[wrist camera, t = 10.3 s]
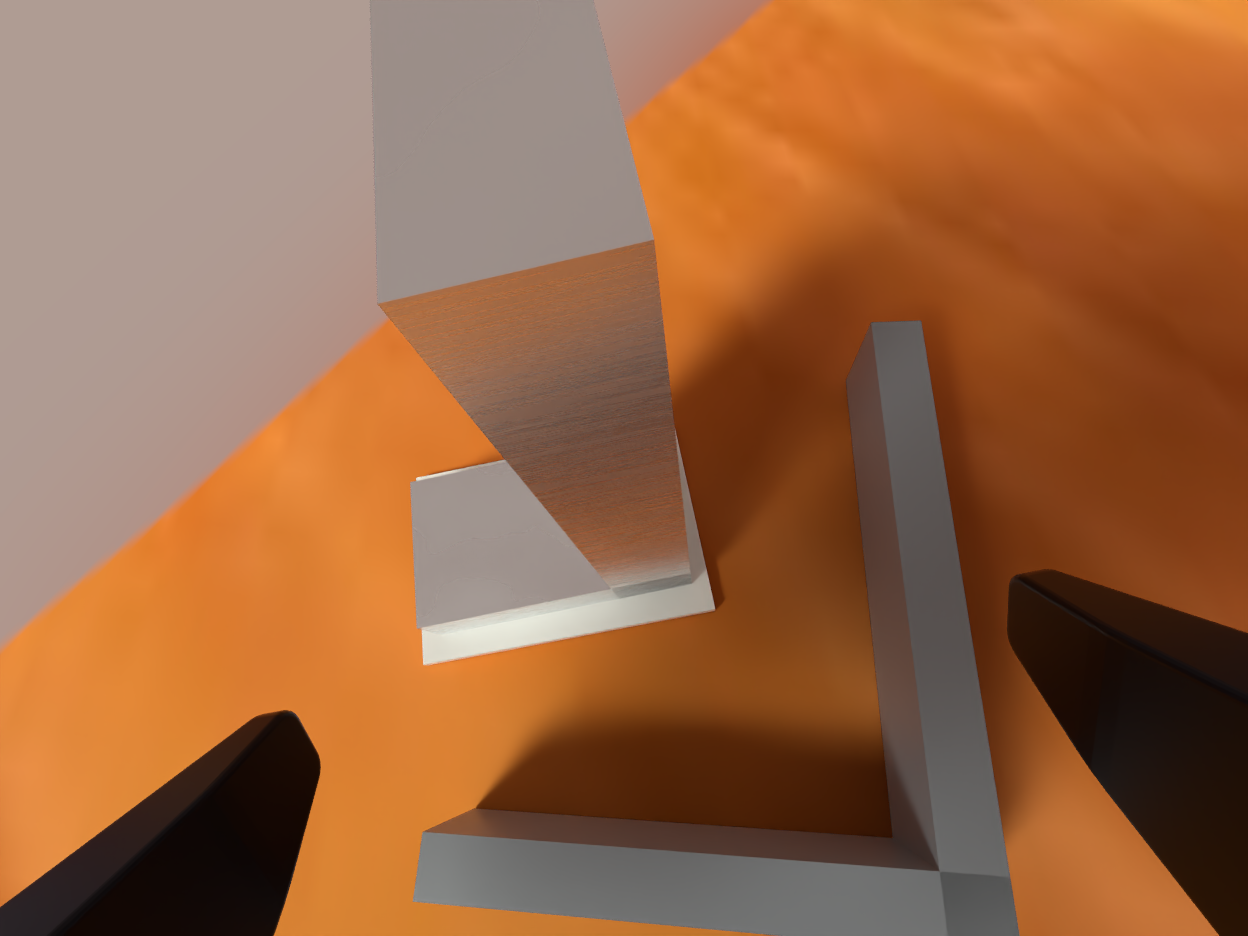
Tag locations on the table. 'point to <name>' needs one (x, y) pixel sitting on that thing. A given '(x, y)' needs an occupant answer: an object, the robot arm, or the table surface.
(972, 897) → the corner wall
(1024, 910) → the table surface
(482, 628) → the plate
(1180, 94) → the table surface
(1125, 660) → the robot arm
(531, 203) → the bracket
